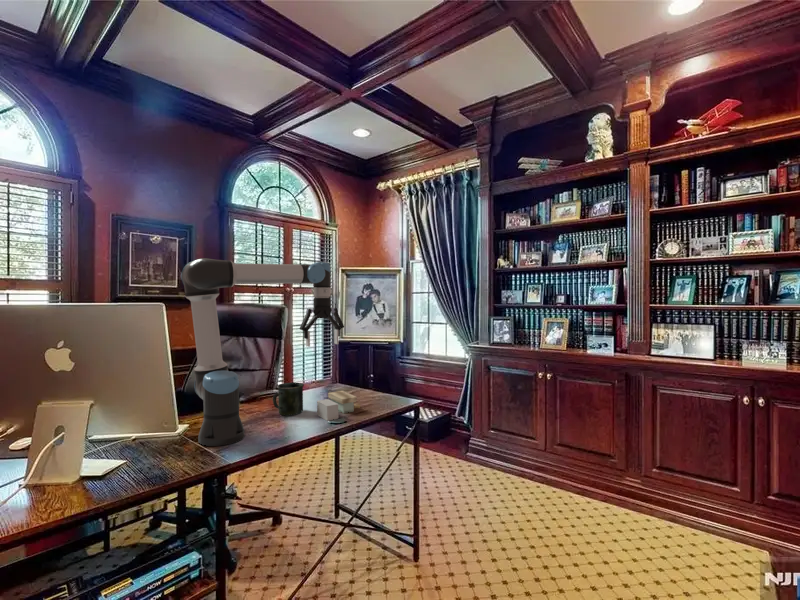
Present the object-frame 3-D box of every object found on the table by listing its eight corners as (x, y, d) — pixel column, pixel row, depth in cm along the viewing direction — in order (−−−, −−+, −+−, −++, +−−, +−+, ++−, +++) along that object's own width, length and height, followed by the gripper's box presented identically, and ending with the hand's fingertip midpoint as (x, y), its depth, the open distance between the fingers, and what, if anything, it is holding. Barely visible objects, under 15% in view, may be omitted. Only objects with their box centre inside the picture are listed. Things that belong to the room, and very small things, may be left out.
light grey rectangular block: (327, 420, 168) (327, 406, 168) (317, 414, 176) (317, 400, 176) (338, 418, 171) (338, 404, 171) (328, 412, 179) (328, 399, 179)
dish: (343, 413, 178) (343, 403, 178) (331, 407, 188) (331, 397, 188) (353, 411, 181) (353, 401, 181) (341, 405, 191) (341, 395, 191)
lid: (342, 403, 177) (342, 399, 177) (328, 397, 188) (328, 392, 188) (356, 401, 181) (356, 396, 181) (342, 395, 192) (342, 390, 192)
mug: (309, 411, 181) (309, 384, 181) (282, 419, 170) (281, 390, 169) (293, 407, 188) (292, 381, 188) (265, 415, 176) (265, 387, 176)
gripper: (298, 297, 174) (298, 348, 174) (351, 297, 188) (351, 343, 188) (291, 297, 180) (292, 346, 180) (343, 297, 194) (343, 342, 194)
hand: (322, 345), depth 184 cm, fingers open, 13 cm apart
